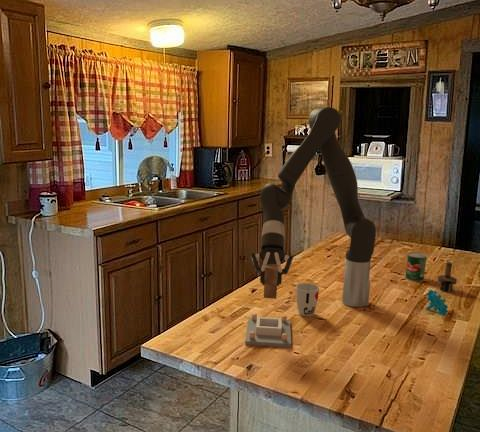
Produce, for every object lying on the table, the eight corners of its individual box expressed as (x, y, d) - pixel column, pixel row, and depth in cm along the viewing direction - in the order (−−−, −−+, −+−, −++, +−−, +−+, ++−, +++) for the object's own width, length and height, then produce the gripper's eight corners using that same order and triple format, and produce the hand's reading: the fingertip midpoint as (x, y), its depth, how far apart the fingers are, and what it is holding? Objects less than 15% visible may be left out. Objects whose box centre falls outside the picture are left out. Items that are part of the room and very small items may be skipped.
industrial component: (455, 294, 201) (458, 266, 198) (436, 291, 203) (439, 263, 201) (455, 287, 209) (458, 260, 207) (436, 284, 212) (440, 257, 209)
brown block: (276, 294, 160) (278, 264, 158) (276, 298, 156) (277, 268, 154) (263, 293, 160) (265, 263, 158) (263, 297, 156) (265, 267, 154)
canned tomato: (404, 280, 217) (406, 255, 215) (405, 274, 224) (408, 251, 222) (423, 282, 214) (426, 258, 212) (424, 277, 221) (427, 253, 219)
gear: (440, 315, 176) (425, 289, 180) (427, 322, 179) (412, 297, 184) (455, 312, 183) (440, 287, 187) (442, 319, 186) (428, 295, 191)
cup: (303, 319, 172) (304, 292, 170) (290, 311, 179) (291, 284, 177) (322, 315, 176) (323, 289, 174) (308, 307, 183) (310, 281, 181)
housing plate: (289, 323, 169) (290, 312, 168) (291, 347, 151) (291, 336, 151) (248, 320, 170) (248, 310, 169) (245, 344, 152) (245, 333, 152)
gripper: (251, 230, 162) (247, 278, 152) (295, 232, 161) (294, 280, 152) (251, 241, 168) (248, 288, 159) (293, 244, 167) (292, 291, 158)
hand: (270, 284), depth 155 cm, fingers closed on brown block, 4 cm apart
